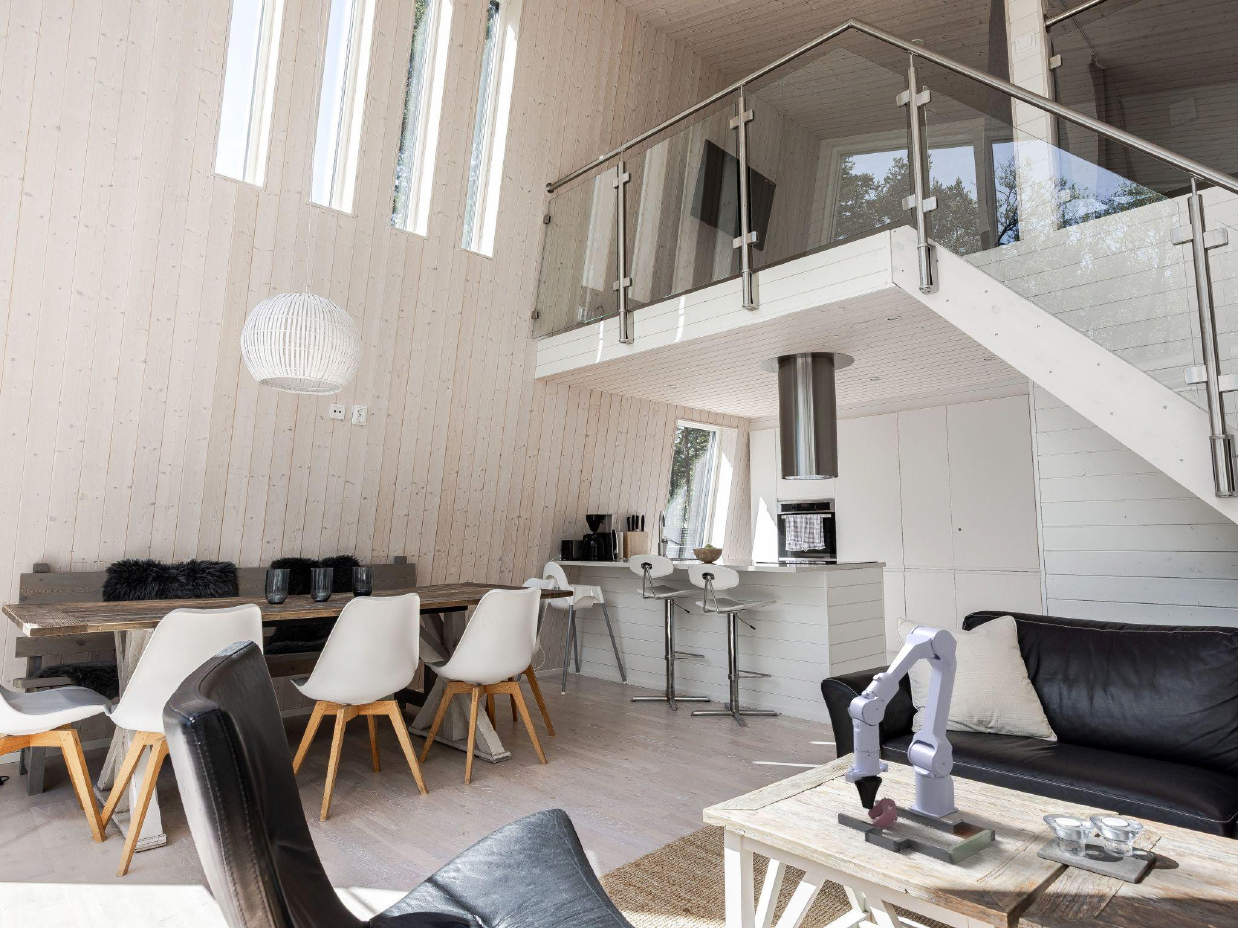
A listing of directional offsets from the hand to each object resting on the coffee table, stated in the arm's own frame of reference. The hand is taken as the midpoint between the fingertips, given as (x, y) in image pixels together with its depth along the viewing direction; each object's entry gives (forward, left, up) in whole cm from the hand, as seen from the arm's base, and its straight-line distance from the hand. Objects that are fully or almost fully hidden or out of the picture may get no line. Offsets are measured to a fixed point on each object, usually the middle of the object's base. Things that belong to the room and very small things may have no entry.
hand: (867, 807), depth 181 cm
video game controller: (+1, +5, -3) cm, 5 cm away
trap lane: (0, +11, -2) cm, 12 cm away
